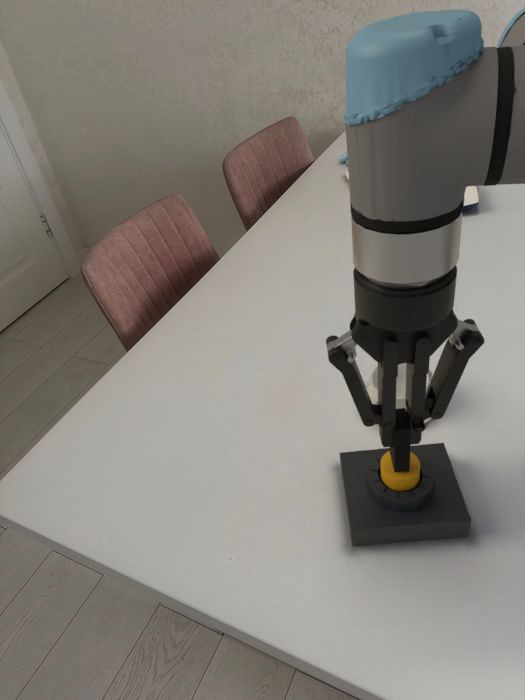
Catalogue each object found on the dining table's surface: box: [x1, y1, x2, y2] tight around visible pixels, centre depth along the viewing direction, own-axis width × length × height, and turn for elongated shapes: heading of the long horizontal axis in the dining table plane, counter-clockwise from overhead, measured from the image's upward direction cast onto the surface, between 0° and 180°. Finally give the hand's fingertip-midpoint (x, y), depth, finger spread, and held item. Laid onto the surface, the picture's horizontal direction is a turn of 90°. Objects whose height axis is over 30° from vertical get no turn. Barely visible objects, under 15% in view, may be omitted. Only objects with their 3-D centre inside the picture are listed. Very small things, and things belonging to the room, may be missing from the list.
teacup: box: [366, 363, 433, 424], centre depth 66 cm, size 10×10×5 cm
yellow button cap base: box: [339, 442, 472, 547], centre depth 55 cm, size 12×10×5 cm
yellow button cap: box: [381, 451, 420, 491], centre depth 53 cm, size 4×4×2 cm
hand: (399, 461), depth 52 cm, fingers closed
